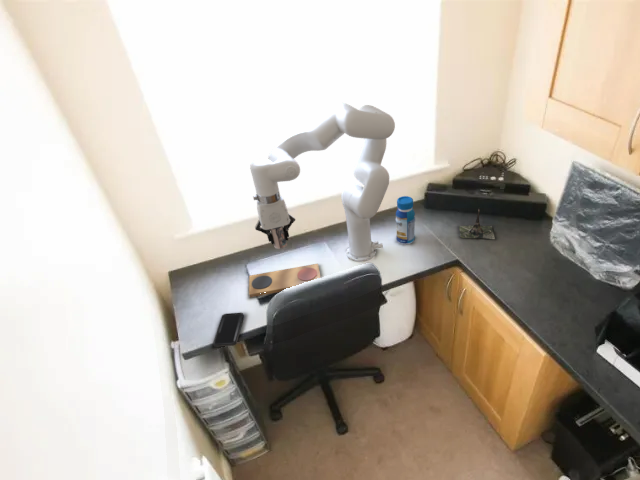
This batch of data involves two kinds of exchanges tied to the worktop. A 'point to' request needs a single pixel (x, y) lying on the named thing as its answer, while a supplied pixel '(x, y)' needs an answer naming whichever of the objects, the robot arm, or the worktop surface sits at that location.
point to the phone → (228, 329)
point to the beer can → (278, 237)
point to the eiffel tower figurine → (476, 230)
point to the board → (281, 279)
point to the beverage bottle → (405, 220)
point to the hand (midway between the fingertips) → (279, 240)
